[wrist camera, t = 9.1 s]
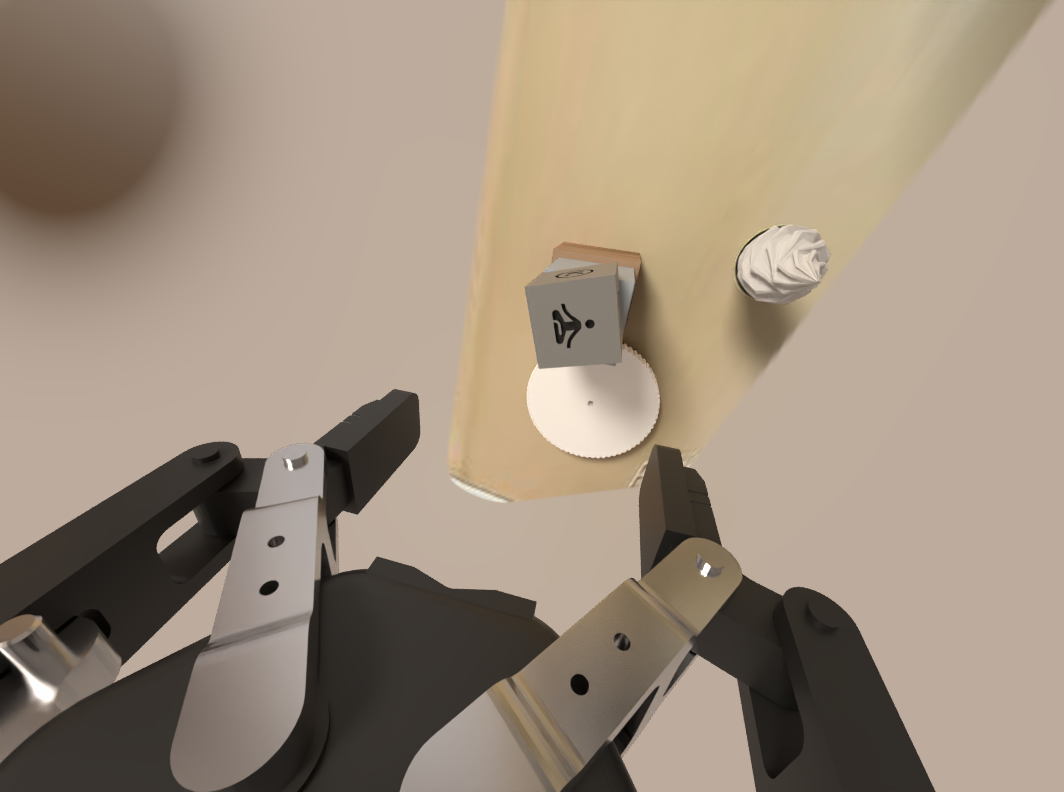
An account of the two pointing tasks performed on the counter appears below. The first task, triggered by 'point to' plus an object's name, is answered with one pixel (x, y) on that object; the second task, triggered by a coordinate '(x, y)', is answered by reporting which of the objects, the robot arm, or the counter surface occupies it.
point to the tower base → (599, 257)
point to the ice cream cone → (781, 264)
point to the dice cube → (576, 316)
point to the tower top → (624, 282)
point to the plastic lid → (595, 405)
